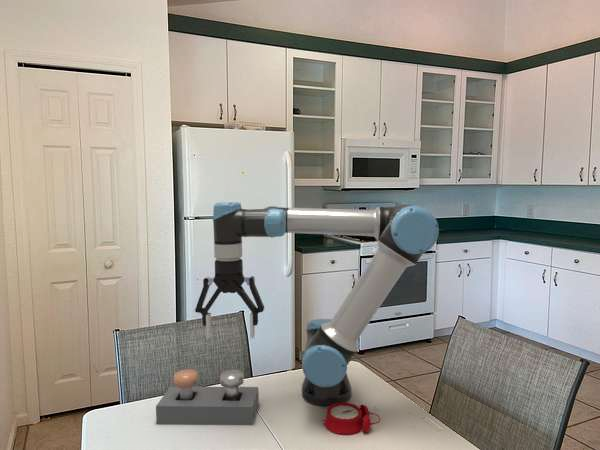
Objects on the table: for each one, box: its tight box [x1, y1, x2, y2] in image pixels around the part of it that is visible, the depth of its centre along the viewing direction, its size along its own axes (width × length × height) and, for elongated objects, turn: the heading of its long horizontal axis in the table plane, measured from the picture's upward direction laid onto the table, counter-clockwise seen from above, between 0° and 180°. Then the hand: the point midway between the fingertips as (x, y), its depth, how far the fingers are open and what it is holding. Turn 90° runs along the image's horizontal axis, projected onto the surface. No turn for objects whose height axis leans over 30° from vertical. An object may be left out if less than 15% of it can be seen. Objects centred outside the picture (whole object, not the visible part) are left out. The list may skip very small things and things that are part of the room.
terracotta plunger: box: [173, 368, 199, 400], centre depth 126 cm, size 6×6×7 cm
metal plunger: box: [219, 369, 245, 401], centre depth 125 cm, size 6×6×7 cm
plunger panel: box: [155, 386, 260, 426], centre depth 126 cm, size 26×12×5 cm, turn 88°
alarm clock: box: [321, 402, 381, 436], centre depth 119 cm, size 10×6×15 cm
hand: (230, 336), depth 124 cm, fingers open, 11 cm apart
